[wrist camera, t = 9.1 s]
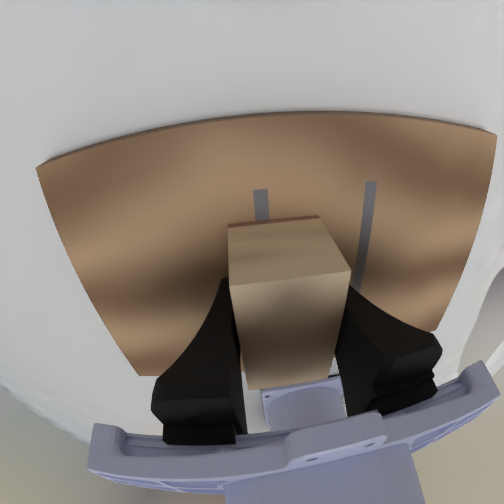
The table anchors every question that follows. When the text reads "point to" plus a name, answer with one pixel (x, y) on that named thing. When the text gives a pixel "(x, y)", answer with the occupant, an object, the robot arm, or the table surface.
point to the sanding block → (286, 298)
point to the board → (266, 213)
